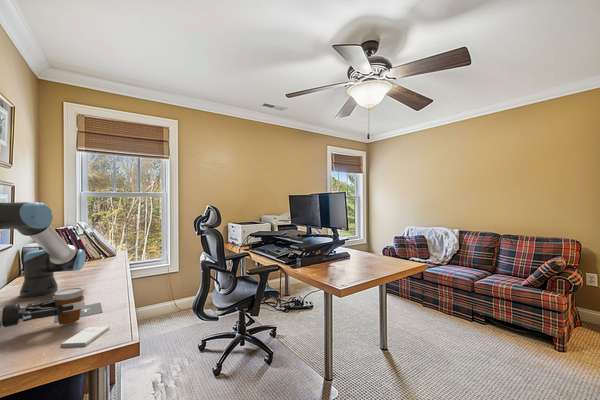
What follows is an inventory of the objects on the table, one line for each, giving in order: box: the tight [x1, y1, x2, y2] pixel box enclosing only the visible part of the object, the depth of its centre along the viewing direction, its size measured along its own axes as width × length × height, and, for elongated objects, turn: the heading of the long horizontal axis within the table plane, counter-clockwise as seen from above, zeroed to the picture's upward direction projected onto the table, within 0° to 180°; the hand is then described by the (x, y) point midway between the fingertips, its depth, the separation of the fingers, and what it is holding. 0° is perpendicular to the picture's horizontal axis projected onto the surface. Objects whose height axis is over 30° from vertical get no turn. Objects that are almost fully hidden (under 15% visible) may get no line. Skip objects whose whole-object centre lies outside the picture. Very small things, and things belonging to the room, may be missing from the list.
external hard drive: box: [59, 325, 110, 348], centre depth 98 cm, size 2×8×12 cm
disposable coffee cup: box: [52, 287, 85, 325], centre depth 109 cm, size 10×10×12 cm
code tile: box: [53, 302, 103, 324], centre depth 121 cm, size 15×16×1 cm
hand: (84, 301), depth 112 cm, fingers closed on disposable coffee cup, 8 cm apart
